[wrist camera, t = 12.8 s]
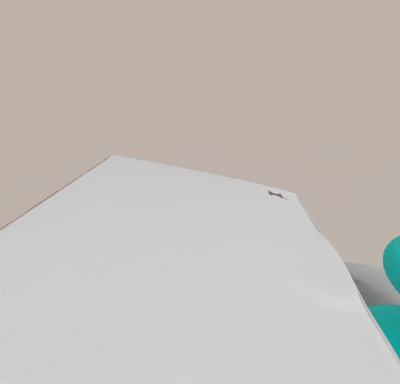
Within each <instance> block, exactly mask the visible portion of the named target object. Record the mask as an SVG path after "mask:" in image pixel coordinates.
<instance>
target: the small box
mask: <svg viewBox="0 0 400 384" xmlns="http://www.w3.org/2000/svg"><path fill="white" fill-rule="evenodd" d="M0 384H400V360H399V358H398V356H397V354H396V353H395V351H394V349H393V348H392V346H391V345H390V343H389V341H388V340H387V338H386V336H385V335H384V333H383V332H382V330H381V328H380V327H379V325H378V324H377V322H376V320H375V319H374V317H373V315H372V314H371V312H370V310H369V309H368V307H367V305H366V303H365V301H364V300H363V298H362V296H361V294H360V292H359V290H358V288H357V286H356V285H355V283H354V281H353V279H352V277H351V275H350V273H349V271H348V269H347V267H346V265H345V263H344V262H343V260H342V259H341V257H340V255H339V254H338V252H337V251H336V249H335V248H334V247H333V246H332V244H331V243H330V242H329V241H328V240H327V239H326V238H325V236H324V235H323V234H322V233H321V231H320V230H319V229H318V227H317V225H316V224H315V222H314V220H313V219H312V217H311V216H310V214H309V212H308V211H307V210H306V208H305V207H304V205H303V203H302V202H301V200H300V199H299V196H298V195H297V194H295V193H292V192H289V191H285V190H282V189H278V188H274V187H270V186H266V185H262V184H257V183H253V182H249V181H244V180H239V179H235V178H230V177H225V176H221V175H216V174H211V173H206V172H202V171H196V170H192V169H187V168H181V167H176V166H171V165H165V164H160V163H155V162H150V161H144V160H139V159H133V158H128V157H123V156H117V155H112V156H109V157H108V158H107V159H105V160H104V161H103V162H101V163H100V164H98V165H97V166H95V167H93V168H92V169H90V170H89V171H88V172H86V173H85V174H83V175H82V176H80V177H78V178H77V179H75V180H74V181H72V182H71V183H69V184H68V185H66V186H65V187H63V188H62V189H60V190H59V191H57V192H56V193H54V194H53V195H51V196H50V197H48V198H47V199H45V200H44V201H42V202H40V203H39V204H37V205H36V206H34V207H33V208H31V209H30V210H28V211H27V212H25V213H24V214H23V215H21V216H20V217H18V218H17V219H15V220H14V221H12V222H11V223H9V224H7V225H6V226H4V227H3V228H1V229H0Z"/></svg>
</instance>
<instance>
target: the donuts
mask: <svg viewBox="0 0 400 384" xmlns="http://www.w3.org/2000/svg"><path fill="white" fill-rule="evenodd" d="M383 266H384V269H385V272H386V275H387V277H388V279H389V280H390V282H391V283H392V285H393V286H394V287H395V289H396V290H397V291H398V292H399V294H400V236H399V237H397V238H395V239H394V240H392V241H391V242H390V243H389V244H388V245H387V246H386V249H385V250H384V254H383ZM368 309H369V310H370V312H371V314H372V315H373V317H374V319H375V320H376V322H377V324H378V325H379V327H380V328H381V330H382V332H383V333H384V335H385V336H386V338H387V340H388V341H389V343H390V345H391V346H392V348H393V349H394V351H395V353H396V354H397V356H398V358H399V360H400V306H394V305H376V306H371V307H368Z"/></svg>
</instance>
